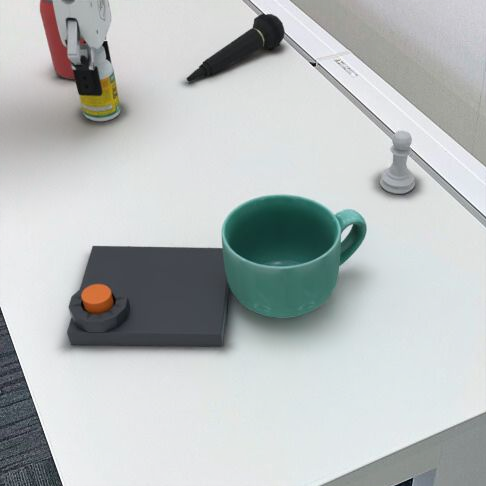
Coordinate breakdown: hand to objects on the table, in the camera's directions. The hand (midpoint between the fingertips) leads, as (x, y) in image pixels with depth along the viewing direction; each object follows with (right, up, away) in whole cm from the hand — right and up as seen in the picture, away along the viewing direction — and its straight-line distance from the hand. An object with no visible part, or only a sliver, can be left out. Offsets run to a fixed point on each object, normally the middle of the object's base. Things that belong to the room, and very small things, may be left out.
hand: (95, 80), depth 108 cm
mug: (+30, -31, -19) cm, 47 cm away
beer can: (-7, +5, +12) cm, 14 cm away
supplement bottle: (0, -4, +4) cm, 5 cm away
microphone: (+17, +9, +16) cm, 25 cm away
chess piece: (+42, -16, -4) cm, 45 cm away
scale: (+14, -32, -22) cm, 41 cm away
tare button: (+9, -33, -27) cm, 44 cm away
